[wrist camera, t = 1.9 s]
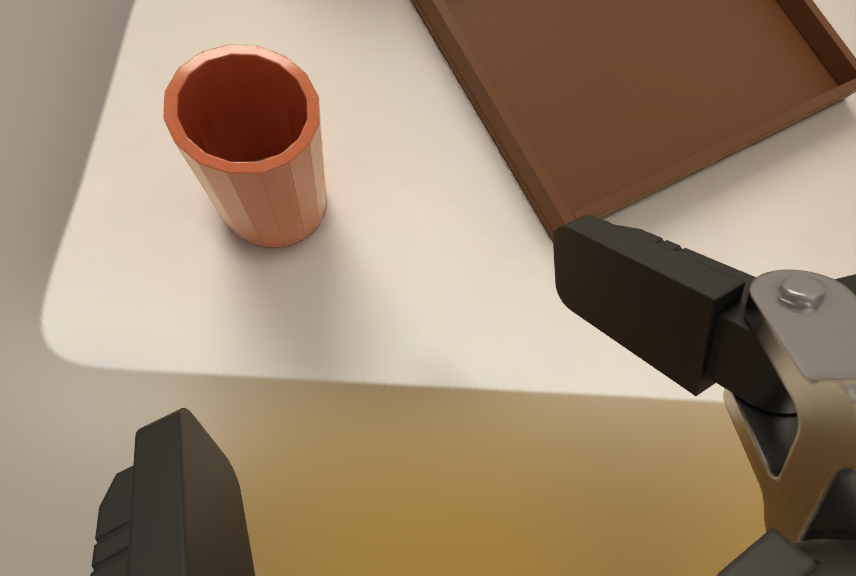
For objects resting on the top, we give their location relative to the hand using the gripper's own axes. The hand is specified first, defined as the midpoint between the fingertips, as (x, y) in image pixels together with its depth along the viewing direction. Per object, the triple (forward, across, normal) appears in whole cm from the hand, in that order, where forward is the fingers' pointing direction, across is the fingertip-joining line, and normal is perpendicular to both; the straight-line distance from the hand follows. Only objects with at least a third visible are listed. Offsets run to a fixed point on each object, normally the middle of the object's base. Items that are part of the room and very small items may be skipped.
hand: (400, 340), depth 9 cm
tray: (+20, -29, +2) cm, 35 cm away
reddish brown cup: (+19, 0, +3) cm, 20 cm away
